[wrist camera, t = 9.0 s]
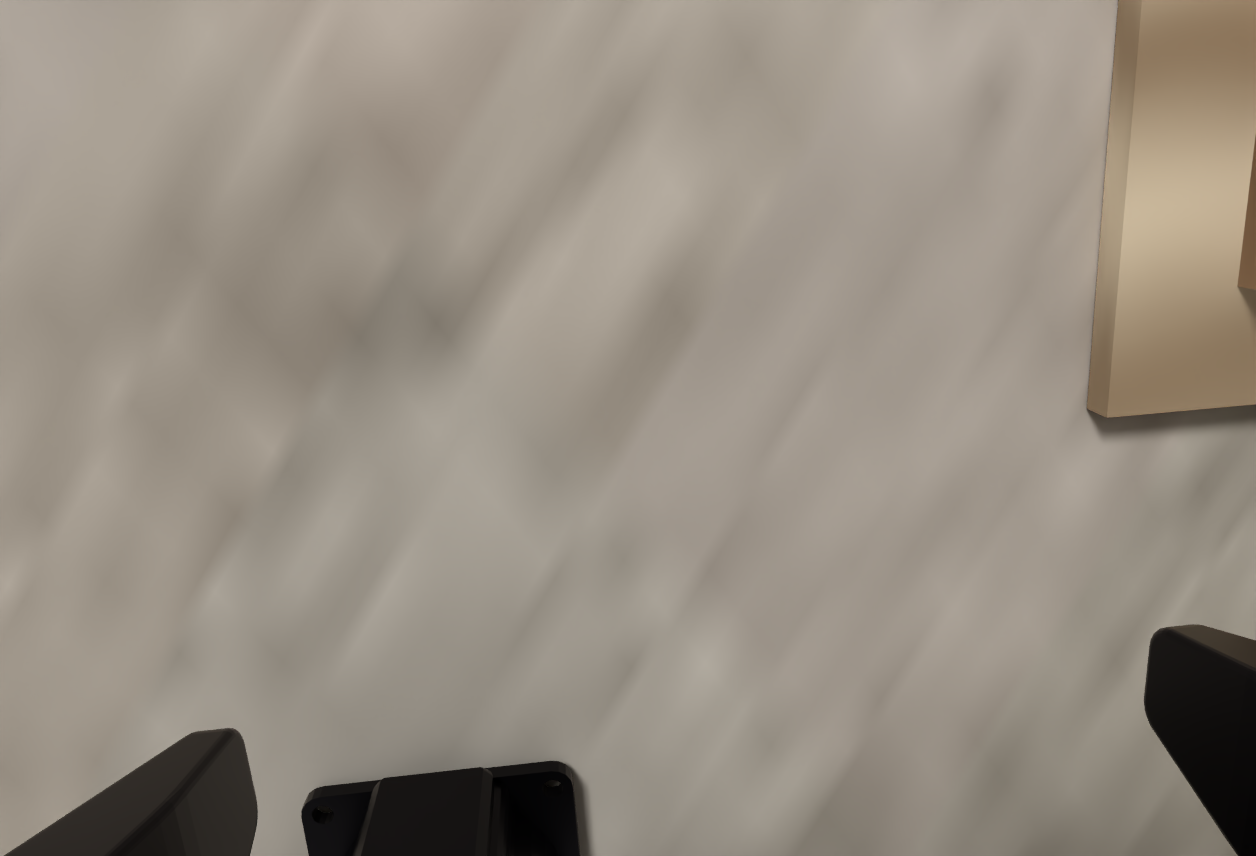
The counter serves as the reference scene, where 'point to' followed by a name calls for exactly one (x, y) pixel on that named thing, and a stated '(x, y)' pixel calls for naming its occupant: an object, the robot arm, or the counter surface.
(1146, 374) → the well
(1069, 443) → the counter surface
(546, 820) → the robot arm
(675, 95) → the counter surface
